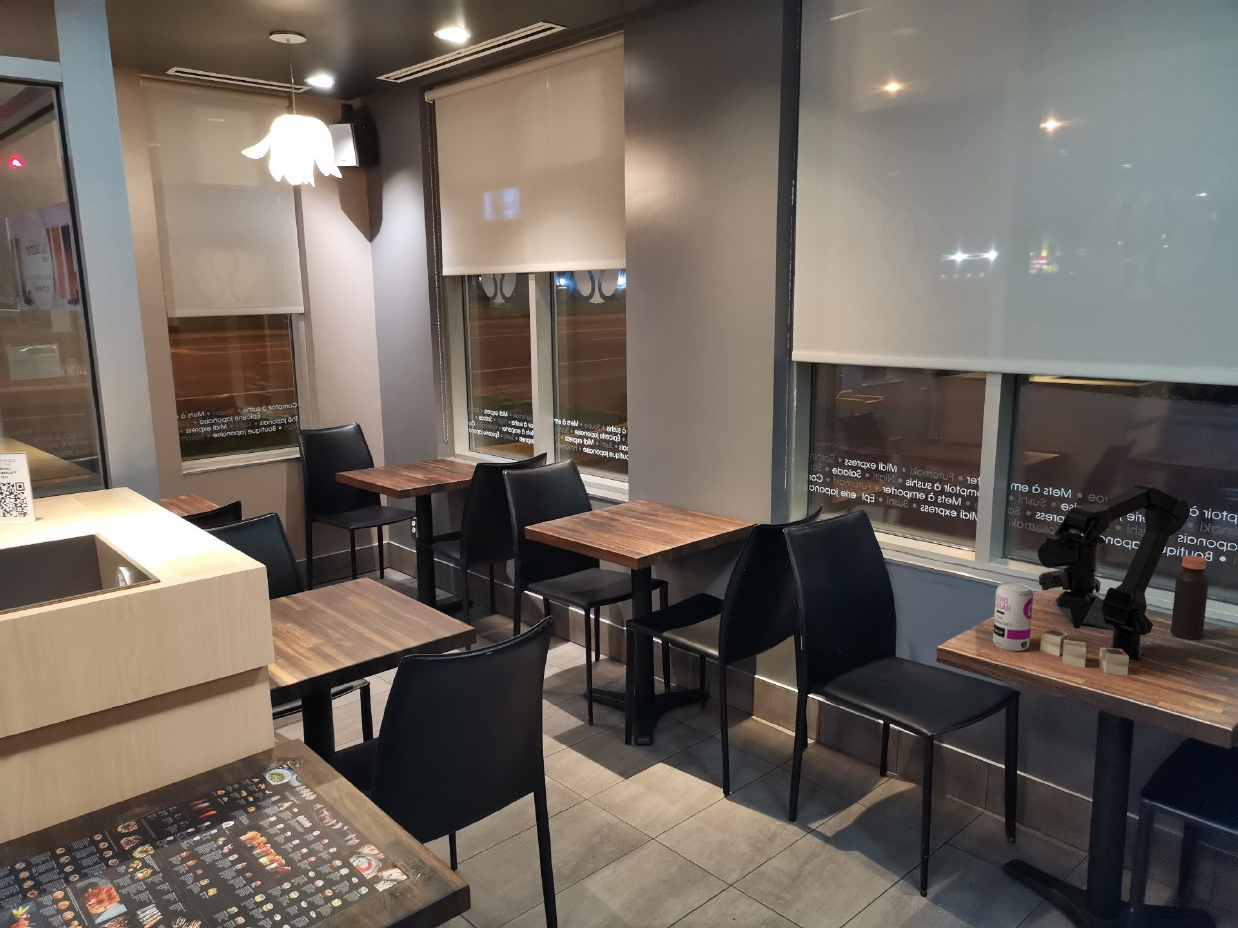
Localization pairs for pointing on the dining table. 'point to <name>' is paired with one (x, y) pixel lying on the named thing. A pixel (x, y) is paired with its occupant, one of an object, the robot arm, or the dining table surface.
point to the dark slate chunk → (1091, 614)
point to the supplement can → (1013, 616)
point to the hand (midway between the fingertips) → (1076, 628)
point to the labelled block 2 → (1113, 661)
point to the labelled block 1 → (1053, 641)
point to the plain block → (1074, 653)
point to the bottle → (1190, 599)
